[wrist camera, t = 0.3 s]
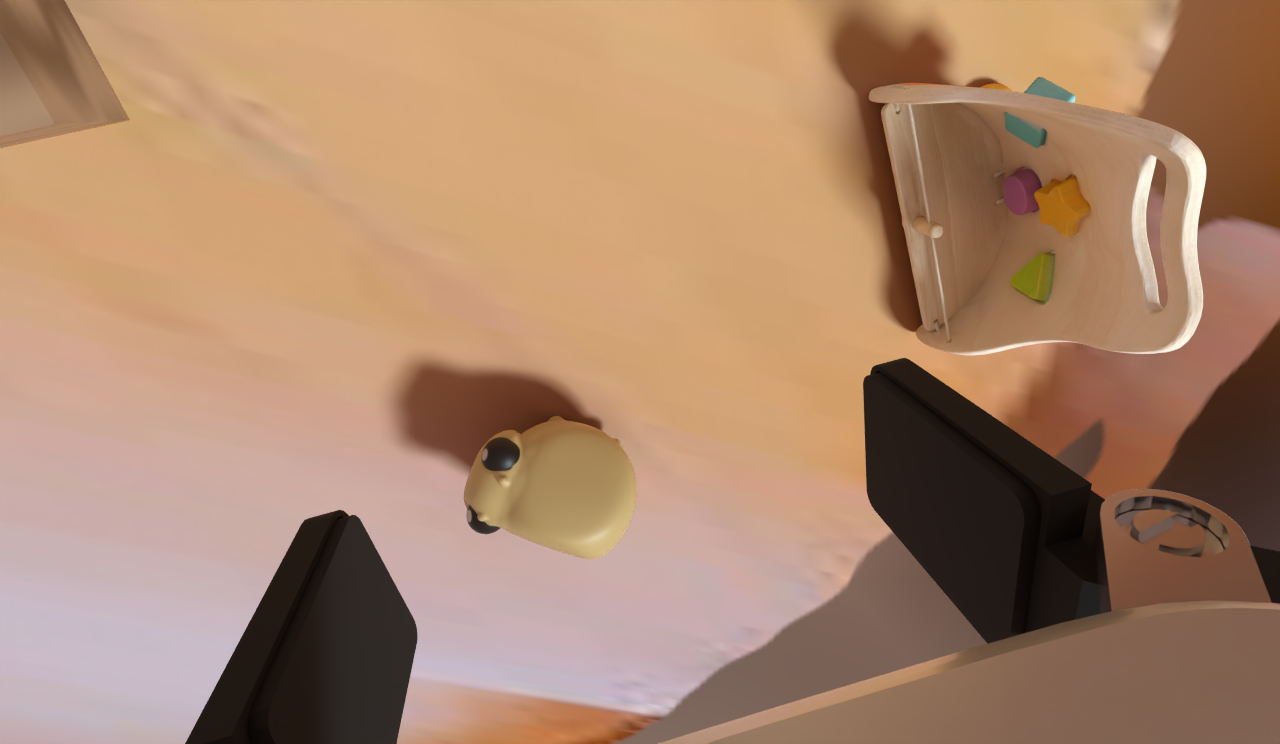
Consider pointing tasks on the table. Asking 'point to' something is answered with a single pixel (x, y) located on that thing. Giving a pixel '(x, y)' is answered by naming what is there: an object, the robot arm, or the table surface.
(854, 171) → the table surface
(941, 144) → the shape sorter
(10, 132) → the tan block
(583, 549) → the yellow animal figurine
